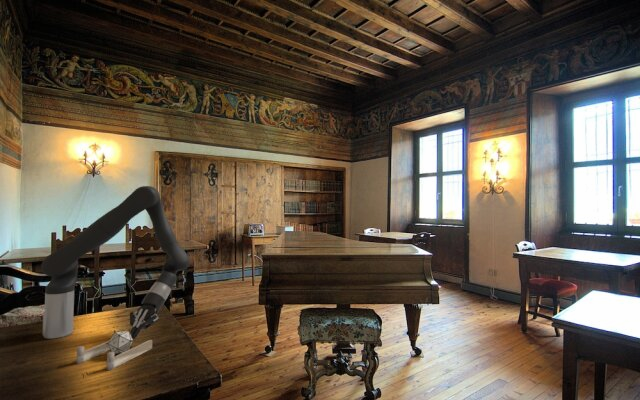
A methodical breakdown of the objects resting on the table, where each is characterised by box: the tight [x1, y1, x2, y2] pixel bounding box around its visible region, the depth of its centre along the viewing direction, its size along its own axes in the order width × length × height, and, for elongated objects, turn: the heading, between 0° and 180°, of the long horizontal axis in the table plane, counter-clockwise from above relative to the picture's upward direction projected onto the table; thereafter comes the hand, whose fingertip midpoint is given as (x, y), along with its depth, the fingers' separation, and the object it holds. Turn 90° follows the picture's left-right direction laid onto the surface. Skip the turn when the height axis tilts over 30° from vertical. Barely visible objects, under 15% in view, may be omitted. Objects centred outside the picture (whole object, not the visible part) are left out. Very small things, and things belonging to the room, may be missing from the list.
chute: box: [75, 339, 153, 371], centre depth 114 cm, size 15×18×5 cm
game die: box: [104, 328, 136, 355], centre depth 116 cm, size 9×8×10 cm
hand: (130, 338), depth 120 cm, fingers closed
